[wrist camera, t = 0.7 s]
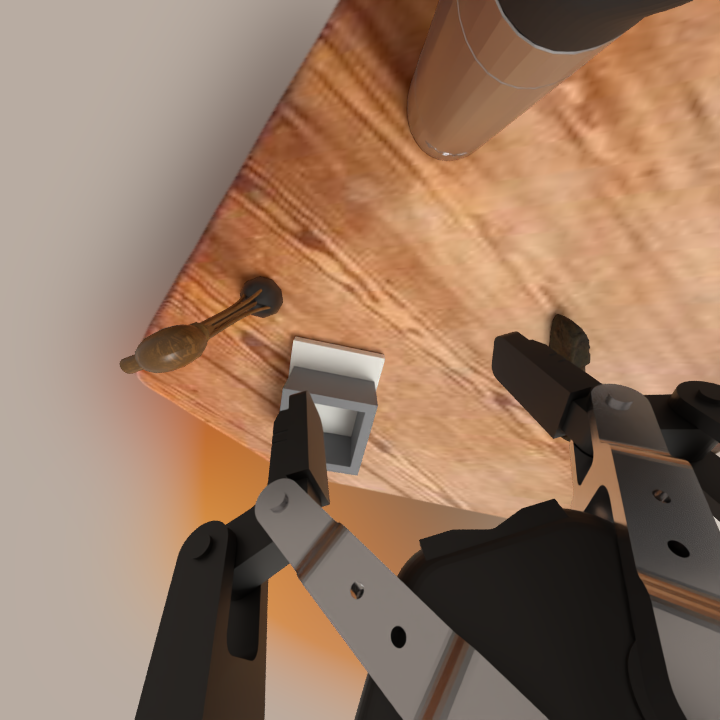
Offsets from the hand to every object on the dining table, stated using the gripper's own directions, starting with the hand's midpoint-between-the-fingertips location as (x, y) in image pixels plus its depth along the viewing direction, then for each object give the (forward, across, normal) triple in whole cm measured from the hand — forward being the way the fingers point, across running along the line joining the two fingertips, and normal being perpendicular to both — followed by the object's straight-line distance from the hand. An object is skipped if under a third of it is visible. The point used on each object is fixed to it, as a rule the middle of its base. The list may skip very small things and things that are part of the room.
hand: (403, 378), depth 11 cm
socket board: (+21, +7, +20) cm, 29 cm away
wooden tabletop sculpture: (+25, +11, +4) cm, 28 cm away
